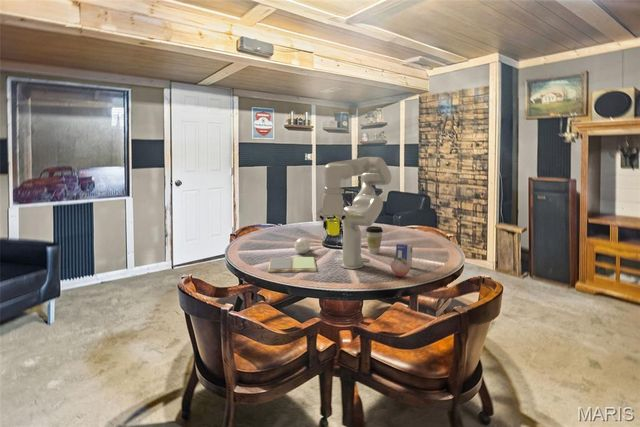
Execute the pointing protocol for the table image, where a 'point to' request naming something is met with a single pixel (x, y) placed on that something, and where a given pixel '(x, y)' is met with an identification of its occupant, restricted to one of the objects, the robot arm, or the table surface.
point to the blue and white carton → (404, 252)
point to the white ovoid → (302, 245)
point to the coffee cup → (374, 239)
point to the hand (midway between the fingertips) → (332, 228)
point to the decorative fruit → (400, 267)
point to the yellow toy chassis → (333, 225)
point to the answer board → (292, 264)
